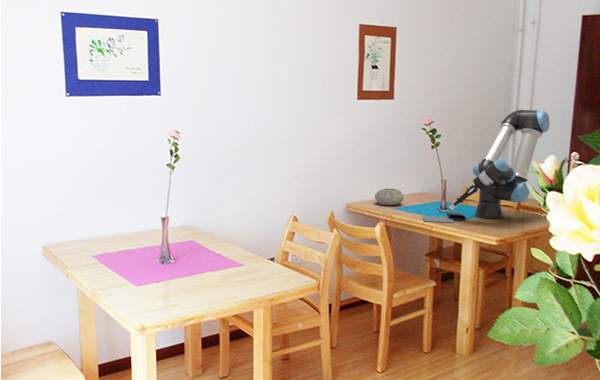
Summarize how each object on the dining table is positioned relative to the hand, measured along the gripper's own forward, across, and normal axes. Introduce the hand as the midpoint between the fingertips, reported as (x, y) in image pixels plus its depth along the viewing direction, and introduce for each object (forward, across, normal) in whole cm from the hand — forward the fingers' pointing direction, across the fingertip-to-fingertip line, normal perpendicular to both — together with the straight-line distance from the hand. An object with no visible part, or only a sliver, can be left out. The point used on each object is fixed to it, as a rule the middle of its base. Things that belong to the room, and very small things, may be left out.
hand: (450, 208), depth 321 cm
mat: (+8, -4, -1) cm, 9 cm away
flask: (0, +1, -6) cm, 6 cm away
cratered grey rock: (+36, +23, +27) cm, 50 cm away
